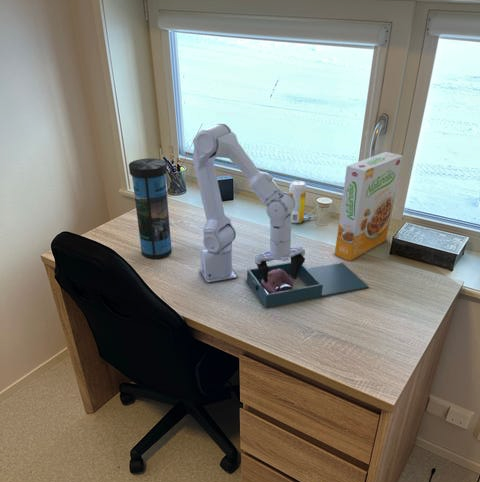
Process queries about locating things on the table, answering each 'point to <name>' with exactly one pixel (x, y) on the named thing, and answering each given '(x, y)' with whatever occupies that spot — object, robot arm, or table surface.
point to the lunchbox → (317, 279)
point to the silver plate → (282, 288)
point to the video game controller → (276, 280)
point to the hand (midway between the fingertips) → (279, 280)
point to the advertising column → (152, 207)
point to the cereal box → (367, 204)
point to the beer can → (298, 200)
